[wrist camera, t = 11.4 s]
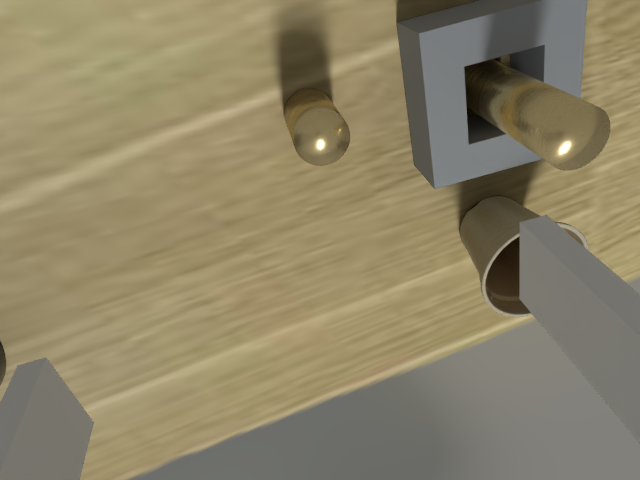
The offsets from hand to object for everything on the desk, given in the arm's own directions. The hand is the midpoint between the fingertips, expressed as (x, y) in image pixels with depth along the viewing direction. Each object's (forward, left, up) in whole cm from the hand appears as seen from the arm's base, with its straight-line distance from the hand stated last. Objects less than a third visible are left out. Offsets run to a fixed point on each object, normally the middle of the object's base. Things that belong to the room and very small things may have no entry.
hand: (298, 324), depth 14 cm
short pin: (+4, -4, -29) cm, 29 cm away
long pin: (+18, -5, -29) cm, 34 cm away
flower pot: (+19, -19, -29) cm, 39 cm away
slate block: (+18, -5, -29) cm, 34 cm away
